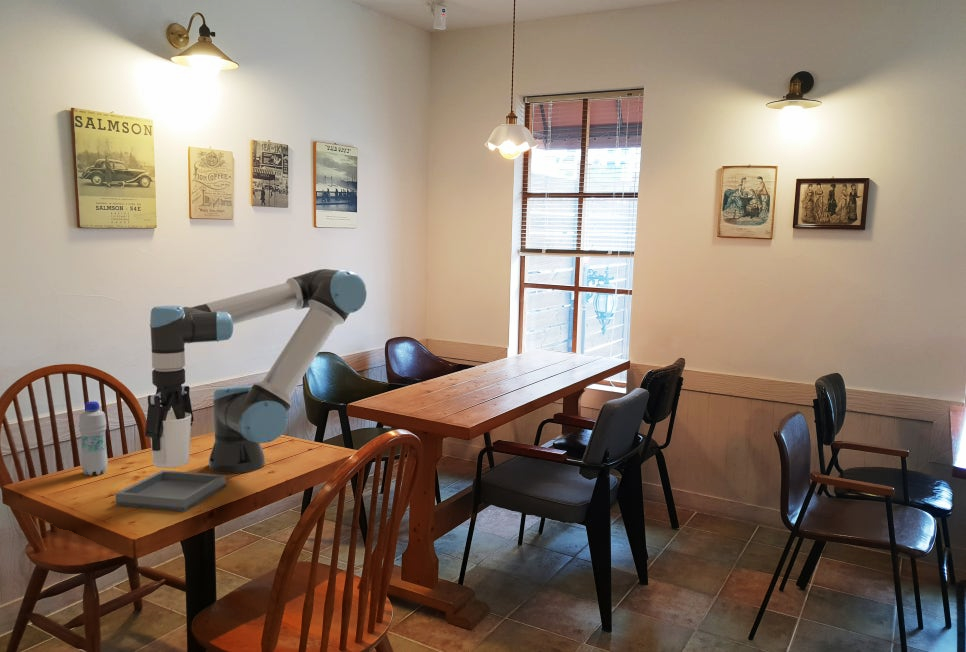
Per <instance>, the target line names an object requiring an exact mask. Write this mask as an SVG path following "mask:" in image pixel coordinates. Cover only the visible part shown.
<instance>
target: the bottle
mask: <svg viewBox="0 0 966 652" xmlns="http://www.w3.org/2000/svg"><path fill="white" fill-rule="evenodd" d="M84 409H85V411H84V412H82V413H80V414H79V421H78V428H79V432H80V441H81V444H80V445H81V470H82V473H83V475H85V476H93V474H94V472H95V473H96V475H97V476H99V475H100V474H104V473H105V472H106V471H107V469H108V455H107V440H106V437H107V436H106V430H107V419H106V413H105V412H104V411H102V410H100V404H99V402H98V401H96V400H94V401H93V400H91V401H88V402H86V403H85V406H84Z"/></svg>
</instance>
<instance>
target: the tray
mask: <svg viewBox="0 0 966 652" xmlns="http://www.w3.org/2000/svg"><path fill="white" fill-rule="evenodd" d="M226 477H227V476H226V475H225V474H215V473H214V474H213V473H212V474H211V473H200V472H191V471H190V472H189V471H188V472H187V471H178V470H177V471H175V470H166V469H165V470H160V471H158V472H156V473H154V474H152V475H150V476H148V477H146V478H144V479H141V480H139V481H137V482H136V483H134V484H132V485H130V486H128V487H125V488H123V489H121V490H120V491H117V492H116V493H115V506H116V507H118V506H119V507H129V508H137V509H138V508H140V509H150V510H160V511H161V510H162V511H171V512H182V513H186V512H187V511H189V510H190V509H192V508H194V507H195V506H197V505H199V504H200V503H202V502H203V501H205V500H206V499H208V498H210V497H211V496H213V495H214V494H217V493H218V492H219V491H221V490H223V489H224V488H226V486H227V483H226V482H227V480H226V479H227V478H226ZM201 501H202V502H201Z"/></svg>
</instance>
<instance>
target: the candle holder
mask: <svg viewBox="0 0 966 652" xmlns="http://www.w3.org/2000/svg"><path fill="white" fill-rule="evenodd" d="M191 427H192V426H191V414H190V413H186V412H185V418H184V419H179V420H177V419H176V417H175V414H174V411H168V413H167V417H166V421H163V433H162V436H161V437H164V448H165V463H164V464H160V463H153V462H152V464H153V466H154V467H155V468H156V467H157V468H163V469H169V468H170V469H171V468H178V467H181V466H185V465H187V464H188V463H189V462H190V455H191V454H190V452H191V451H190V450H191V430H192V429H191ZM150 432H151V431H150ZM157 433H158V431H157ZM150 446H151V447H150V448H152V438H151V437H150ZM151 454H152V458H153V450H152V449H151Z"/></svg>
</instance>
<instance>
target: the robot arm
mask: <svg viewBox="0 0 966 652" xmlns="http://www.w3.org/2000/svg"><path fill="white" fill-rule="evenodd" d="M367 296H368V295H367V288H366V284H365V282H364V280H363V278H362V277H361V276H360V275H359V274H357V273H356V272H353V271H350V270H347V269H341V270H337V269H326V268H324V269H323V268H321V269H316V270H313V271H310V272H306V273H304V274H299V275H297V276H294V277H293V276H292V277H289V278H287V279H286V282H284V283H281V284H280V283H279V284H276V285H272V286H269V287H268V286H267V287H264V288H262V289H257V290H253V291H249V292H245V293H241V294H238V295H234V296H230V297H227V298H226V297H225V298H223V299H222V298H221V299H218V300H215V301H211V302H207V303H204V304H198V305H195V306H191V307H190V306H184V307H183V306H181V305H157V306H153V307H152V308H151V310H150V320H149V321H150V324H149V327H150V339H151V340H150V342H151V343H150V344H151V345H150V346H151V367H152V369H153V370H152V371H151V379H152V380H151V382H152V385H153V386H155V387H156V391H155V394H153V395H150V394H149V395H148V396H147V411H146V412H147V415H146V423H145V432H144V436H145V437H146V438H147V437H148V438H150V439H151V438H152V447H151V451H152V450H153V457H152V464H153V463H160V464H164V463H165V448H164V437H161V436H162V433H163V421H166V417H167V413H168V412H171V411H170V410H171V408H172V412H174V414H175V417H176V419H177V420H179V419H184V418H185V412H186V413H190V414H191V427H192V426H193V422H194V414H193V408H192V407H193V406H192V402H191V397H190V389H191V388H190V386H189V385H183V384H185V383H186V369H184V367H185V366H186V355H185V350H186V349H185V344H193V343H195V344H196V343H205V342H206V343H208V342H221V341H228V340H230V339H231V338H232V336H233V332H234V325H236V324H239V323H243V322H246V321H250V320H255V319H257V318H261V317H265V316H268V315H272V314H275V313H279V312H282V311H286V310H290V309H294V310H297V311H299V310H303V309H309V310H308V311H307V313H306V314H305V316H304V317H303V319H302V320H301V322H300V323H299V325H298V326H297V328H296V329H295V330H294V333H293V334H292V336H291V337H290V339H289V340H288V342H287V343H286V345H285V346H284V348H283V349H282V351H281V352H280V354H279V356H278V357H277V358H276V359H275V362H274V363H273V365H272V366H271V368H270V369H269V370H268V372H267V374H266V375H265V377H264V378H263V380H262V381H257V382H254V383H253V384H243V385H242V384H241V385H230V386H223V387H219V388H217V389H215V390H214V392H213V399H212V402H213V421H214V423H213V424H214V442H213V446H212V449H211V452H210V455H209V457H208V458H209V459H208V468H209V470H210V471H212V472H214V473H217V474H218V473H220V474H240V473H249V472H251V471H255V470H258V469H260V468H262V467H264V466H265V463H266V462H265V454H264V450H263V448H262V446H261V445H262V444H266V443H267V444H268V443H270V442H273V441H275V440H277V439H278V438H280V436H281V435H282V434H283V433H284V432H285V430H286V429H287V426H288V423H289V420H288V412H289V410H290V408H291V407H292V401H291V396H292V395H293V393H294V392H295V390H296V389H297V387H298V385H299V384H300V382H301V381H302V379H303V377H304V376H305V374H306V373H307V371H308V369H309V368H310V367H311V365H312V363H313V362H314V360H315V358H316V357H317V356H318V353H320V351H321V349H322V348H323V346H324V345H325V343H326V341H327V340H328V338H329V337H330V336H331V334H332V332H333V331H334V329H335V327H337V326H339V325H343V324H344V323H345V322H346V320H347V319H348V317H349V315H350V314H351V313H356V312H358V311H360V310H361V309H362V308H363V307H364V305H365V303H366V300H367ZM150 431H151V432H150ZM157 431H158V433H157Z"/></svg>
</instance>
